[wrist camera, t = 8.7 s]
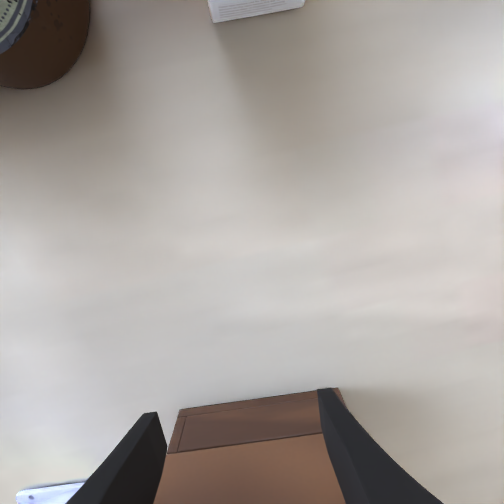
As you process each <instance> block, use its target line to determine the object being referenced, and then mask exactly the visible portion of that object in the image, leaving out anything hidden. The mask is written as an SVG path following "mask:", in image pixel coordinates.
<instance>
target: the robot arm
mask: <svg viewBox="0 0 504 504" xmlns="http://www.w3.org/2000/svg"><path fill="white" fill-rule="evenodd" d="M317 395H318V404H319V413H320V422H321V429H322V433H323V436H324V440H325V444H326V448H327V452H328V455H329V458H330V461H331V463H332V466H333V469H334V472H335V475H336V477H337V480H338V483H339V486H340V489H341V491H342V494H343V497H344V500H345V503H346V504H443V503H442V502H441V501H440V500H439V499H437V498H436V497H435V496H434V495H432V494H431V493H430V492H429V491H427V490H426V489H425V488H424V487H423V486H421V485H420V484H419V483H418V482H417V481H416V480H415V479H414V478H412V477H411V476H410V475H409V474H408V473H407V472H406V471H405V470H404V469H403V468H401V467H400V466H399V465H398V464H397V463H396V462H395V461H394V460H393V459H392V458H391V457H390V456H389V455H388V454H387V453H386V452H385V451H384V450H383V449H382V448H381V447H380V446H379V445H378V444H377V443H376V442H375V441H374V440H373V438H372V437H371V436H370V435H369V434H368V433H367V432H366V431H365V429H364V428H363V427H362V426H361V425H360V424H359V423H358V421H357V420H356V419H355V418H354V417H353V415H352V414H351V413H350V412H349V410H348V409H347V408H346V407H345V405H344V404H343V403H342V401H341V400H340V399H339V397H338V396H337V394H336V393H335V391H334V390H333V389H332V388H325V389H317ZM166 452H167V444H166V440H165V437H164V434H163V430H162V427H161V424H160V421H159V417H158V414H157V412H150V413H144V414H143V415H142V416H141V417H140V418H139V419H138V421H137V422H136V423H135V424H134V426H133V427H132V428H131V429H130V430H129V432H128V433H127V434H126V435H125V437H124V438H123V439H122V440H121V442H120V443H119V444H118V445H117V446H116V448H115V449H114V450H113V451H112V452H111V454H110V455H109V456H108V457H107V458H106V459H105V461H104V462H103V463H102V464H101V465H100V466H99V467H98V469H97V470H96V471H95V472H94V473H93V474H92V475H91V476H90V478H89V479H88V480H87V481H86V482H82V483H74V484H67V485H59V486H52V487H44V488H37V489H29V490H22V491H20V492H19V493H18V494H17V495H16V500H17V502H18V504H153V503H154V500H155V497H156V493H157V490H158V487H159V483H160V480H161V477H162V473H163V468H164V463H165V458H166Z"/></svg>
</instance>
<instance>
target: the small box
mask: <svg viewBox="0 0 504 504" xmlns="http://www.w3.org/2000/svg"><path fill="white" fill-rule="evenodd" d="M304 3H305V0H208V5H209V10H210V16H211V20H212V22H213V23H217V22H222V21H228V20H234V19H240V18H246V17H251V16H257V15H263V14H268V13H274V12H279V11H285V10H290V9H295V8H301V7H303V5H304Z"/></svg>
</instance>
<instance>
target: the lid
mask: <svg viewBox="0 0 504 504" xmlns="http://www.w3.org/2000/svg"><path fill="white" fill-rule="evenodd" d="M153 504H346V503H345V500H344V497H343V494H342V491H341V489H340V486H339V483H338V480H337V477H336V475H335V472H334V469H333V466H332V463H331V461H330V458H329V455H328V452H327V448H326V444H325V440H324V436H323V434H316V435H308V436H301V437H293V438H286V439H279V440H271V441H264V442H257V443H249V444H242V445H234V446H227V447H220V448H212V449H205V450H197V451H190V452H183V453H175V454H168V455H166V458H165V463H164V468H163V473H162V477H161V480H160V483H159V487H158V490H157V493H156V497H155V500H154V503H153Z"/></svg>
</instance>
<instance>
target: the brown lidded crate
mask: <svg viewBox="0 0 504 504" xmlns="http://www.w3.org/2000/svg"><path fill="white" fill-rule="evenodd" d="M332 389H333V390H334V391H335V393H336V394H337V396H338V397H339V399H340V400H341V401H342V403H343V404H344V405H345V403H344V400H343V398H342V396H341V394H340V391H339V389H338V388H332ZM345 407H346V405H345ZM346 408H347V407H346ZM316 434H323V433H322V429H321V422H320V413H319V404H318V395H317V391H310V392H303V393H295V394H288V395H281V396H274V397H267V398H260V399H252V400H245V401H238V402H231V403H224V404H217V405H210V406H202V407H195V408H188V409H181V410H180V411H179V414H178V418H177V421H176V424H175V428H174V431H173V434H172V438H171V441H170V444H169V447H168V451H167V455H168V454H175V453H183V452H190V451H197V450H205V449H212V448H220V447H227V446H234V445H242V444H249V443H257V442H264V441H271V440H279V439H286V438H293V437H301V436H308V435H316Z"/></svg>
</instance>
